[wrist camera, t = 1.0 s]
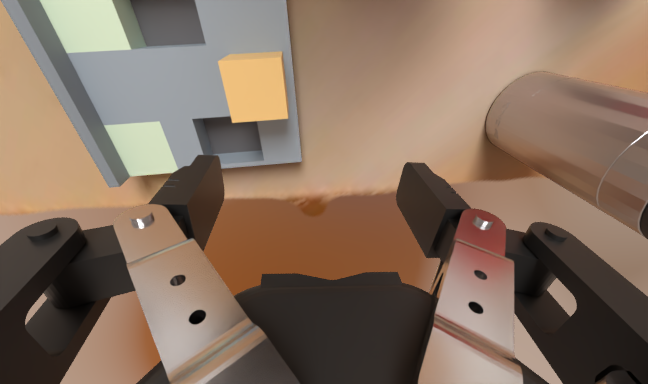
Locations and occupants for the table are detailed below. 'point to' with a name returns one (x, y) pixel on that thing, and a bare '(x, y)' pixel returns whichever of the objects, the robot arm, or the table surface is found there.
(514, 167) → the table surface
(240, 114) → the block
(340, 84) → the table surface
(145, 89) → the board
